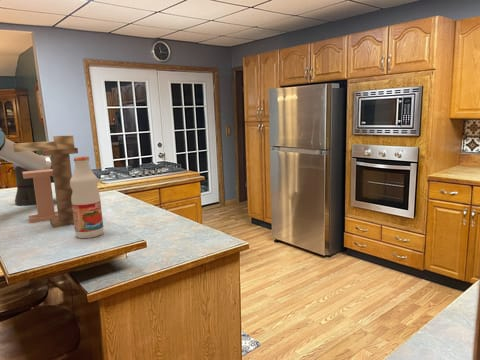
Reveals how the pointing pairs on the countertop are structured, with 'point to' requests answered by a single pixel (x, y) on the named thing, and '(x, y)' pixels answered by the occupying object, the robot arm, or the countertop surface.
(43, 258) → the countertop surface
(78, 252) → the countertop surface
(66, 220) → the walnut stand
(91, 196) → the fruit juice
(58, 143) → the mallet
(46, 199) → the terracotta stand
